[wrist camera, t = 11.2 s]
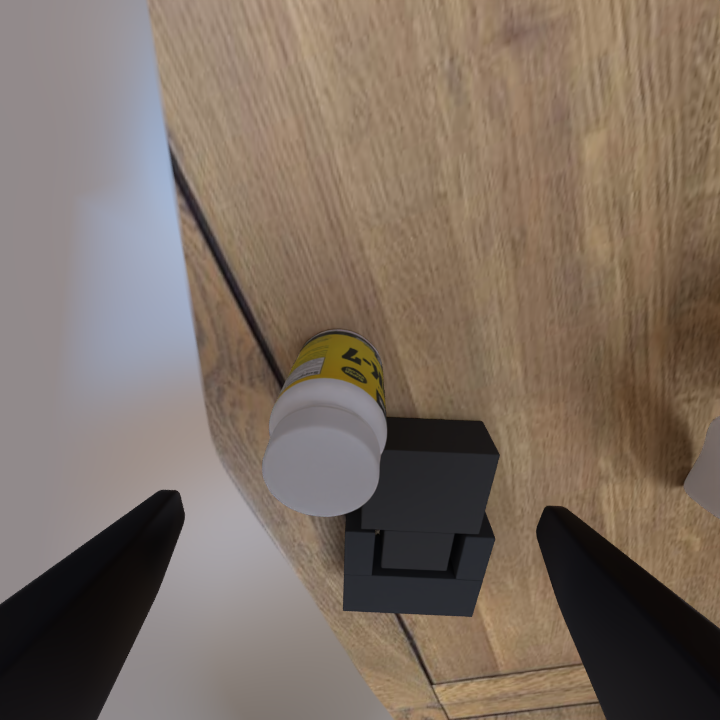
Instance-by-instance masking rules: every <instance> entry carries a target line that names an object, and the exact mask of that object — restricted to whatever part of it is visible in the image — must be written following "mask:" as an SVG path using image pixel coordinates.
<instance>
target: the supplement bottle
mask: <svg viewBox="0 0 720 720" xmlns="http://www.w3.org/2000/svg"><path fill="white" fill-rule="evenodd" d="M269 434H270V440H269V443H268V446H267V449H266V451H265V454H264V457H263V462H262V473H263V478H264V481H265V483H266V485H267V487H268V489H269V491H270V492H271V493H272V494H273V496H274V497H276V498H277V499H278V500H279V501H280V502H281V503H282V504H284V505H285V506H287V507H289V508H290V509H293V510H295V511H297V512H300V513H303V514H307V515H312V516H319V517H331V516H338V515H343V514H346V513H349V512H352V511H354V510H356V509H358V508H359V507H361V506H362V505H364V504H365V503H366V502H367V501H368V500H369V499H370V498H371V496H372V495H373V493H374V492H375V490H376V487H377V485H378V481H379V467H380V458H381V454H382V452H383V450H384V447H385V444H386V439H387V419H386V406H385V390H384V381H383V368H382V363H381V359H380V356H379V354H378V352H377V350H376V349H375V348H374V346H373V345H372V344H371V343H370V342H369V341H368V340H367V339H365V338H364V337H362V336H361V335H359V334H357V333H355V332H352V331H348V330H342V329H334V330H328V331H324V332H321V333H319V334H317V335H315V336H314V337H312V338H311V339H310V340H308V341H307V342H306V344H305V345H304V346H303V347H302V349H301V351H300V353H299V355H298V357H297V359H296V361H295V363H294V365H293V367H292V369H291V371H290V373H289V375H288V377H287V379H286V381H285V384H284V386H283V388H282V390H281V392H280V394H279V396H278V398H277V400H276V402H275V405H274V407H273V409H272V412H271V416H270V421H269Z"/></svg>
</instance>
